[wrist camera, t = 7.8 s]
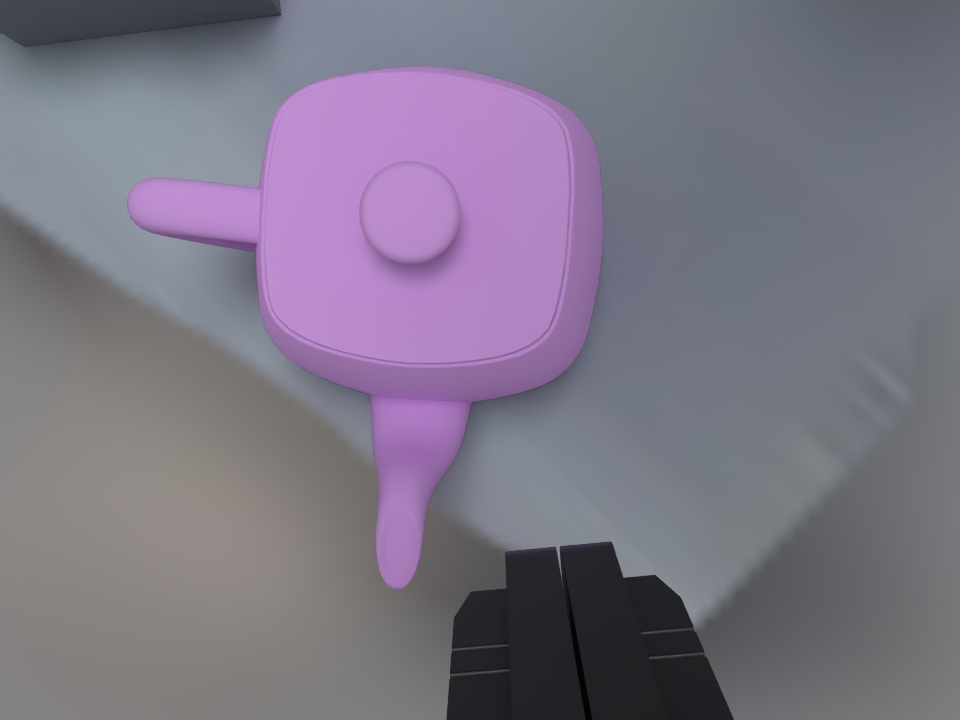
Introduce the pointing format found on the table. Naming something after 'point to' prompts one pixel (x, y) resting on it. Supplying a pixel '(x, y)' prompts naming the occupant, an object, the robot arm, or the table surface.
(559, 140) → the teapot
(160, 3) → the switch box
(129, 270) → the table surface
